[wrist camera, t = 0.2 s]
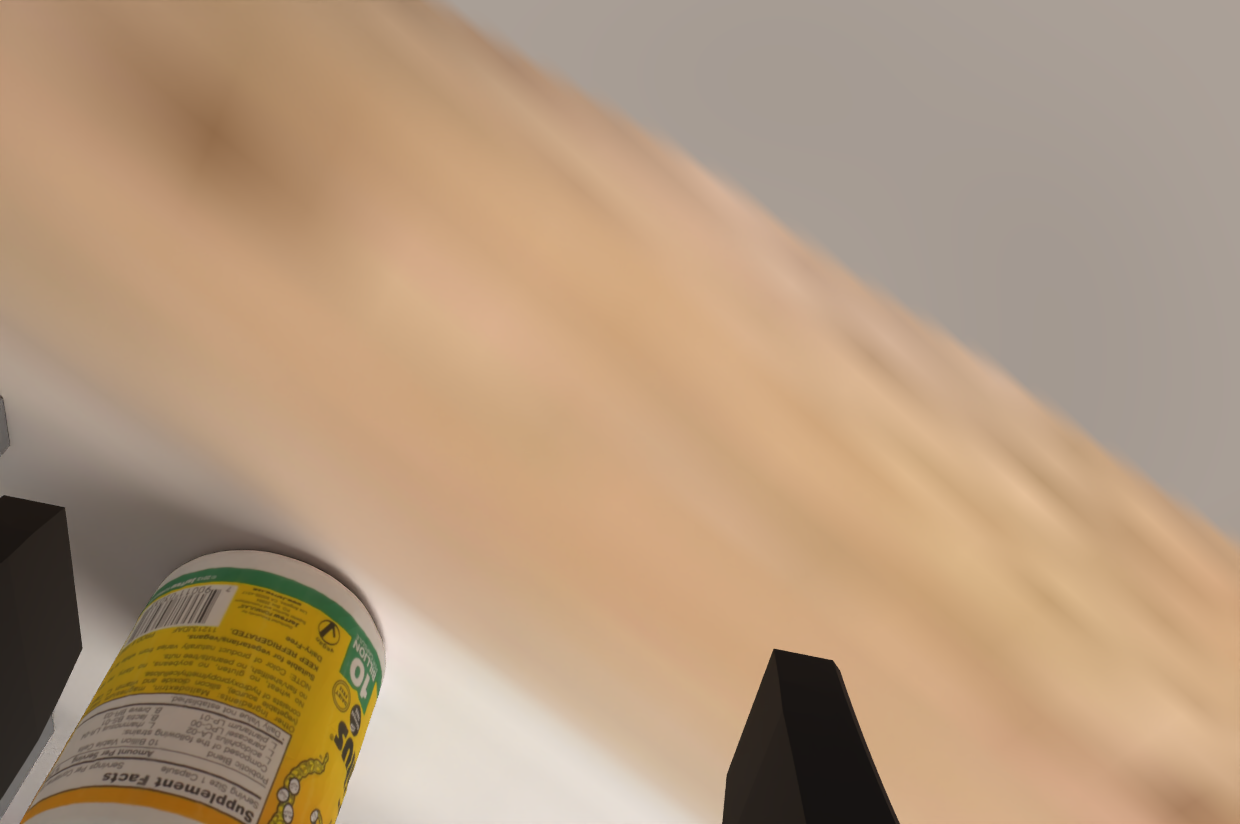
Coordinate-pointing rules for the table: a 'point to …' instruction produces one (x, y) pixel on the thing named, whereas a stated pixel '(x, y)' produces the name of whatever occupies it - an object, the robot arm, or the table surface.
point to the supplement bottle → (226, 703)
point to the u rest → (0, 806)
